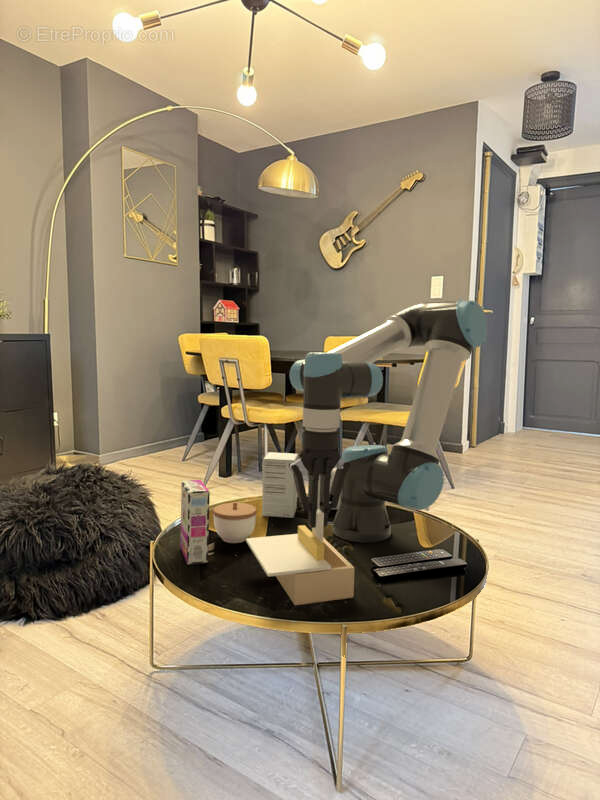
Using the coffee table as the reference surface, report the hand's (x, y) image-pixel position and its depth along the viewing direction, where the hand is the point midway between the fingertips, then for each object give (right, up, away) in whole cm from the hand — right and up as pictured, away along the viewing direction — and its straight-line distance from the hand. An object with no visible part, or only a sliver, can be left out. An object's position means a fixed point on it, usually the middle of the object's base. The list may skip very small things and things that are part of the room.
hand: (317, 541), depth 110 cm
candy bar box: (-28, -7, +13) cm, 31 cm away
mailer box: (-2, -8, 0) cm, 8 cm away
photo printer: (+6, -4, +51) cm, 52 cm away
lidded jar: (-20, -6, +24) cm, 32 cm away
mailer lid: (-6, -2, -2) cm, 7 cm away
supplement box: (-10, -4, +46) cm, 47 cm away
